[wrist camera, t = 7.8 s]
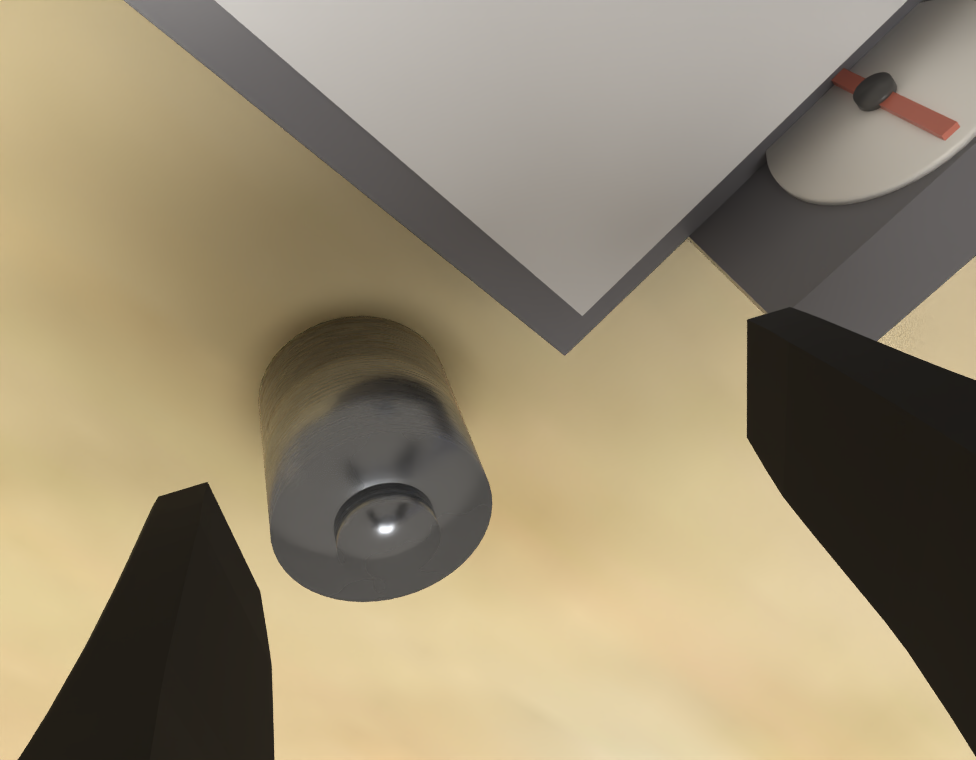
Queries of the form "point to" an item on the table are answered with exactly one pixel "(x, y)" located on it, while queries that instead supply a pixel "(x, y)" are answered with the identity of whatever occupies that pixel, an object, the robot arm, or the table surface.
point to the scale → (633, 138)
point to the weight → (368, 462)
